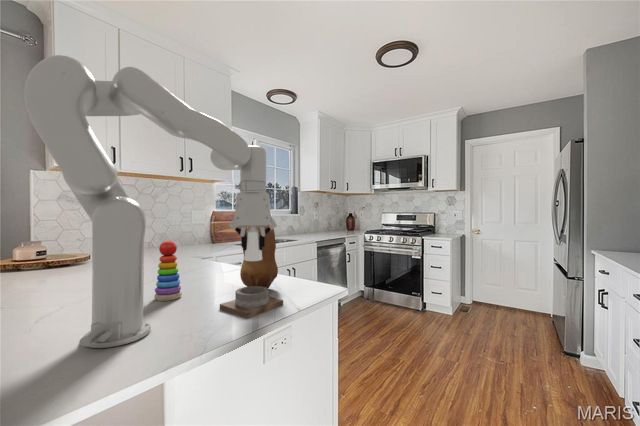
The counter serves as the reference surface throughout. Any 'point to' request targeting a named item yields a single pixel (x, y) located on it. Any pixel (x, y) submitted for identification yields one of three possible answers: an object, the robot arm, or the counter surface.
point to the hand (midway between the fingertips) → (253, 248)
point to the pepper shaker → (253, 245)
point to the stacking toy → (168, 274)
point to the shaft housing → (251, 302)
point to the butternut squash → (261, 264)
